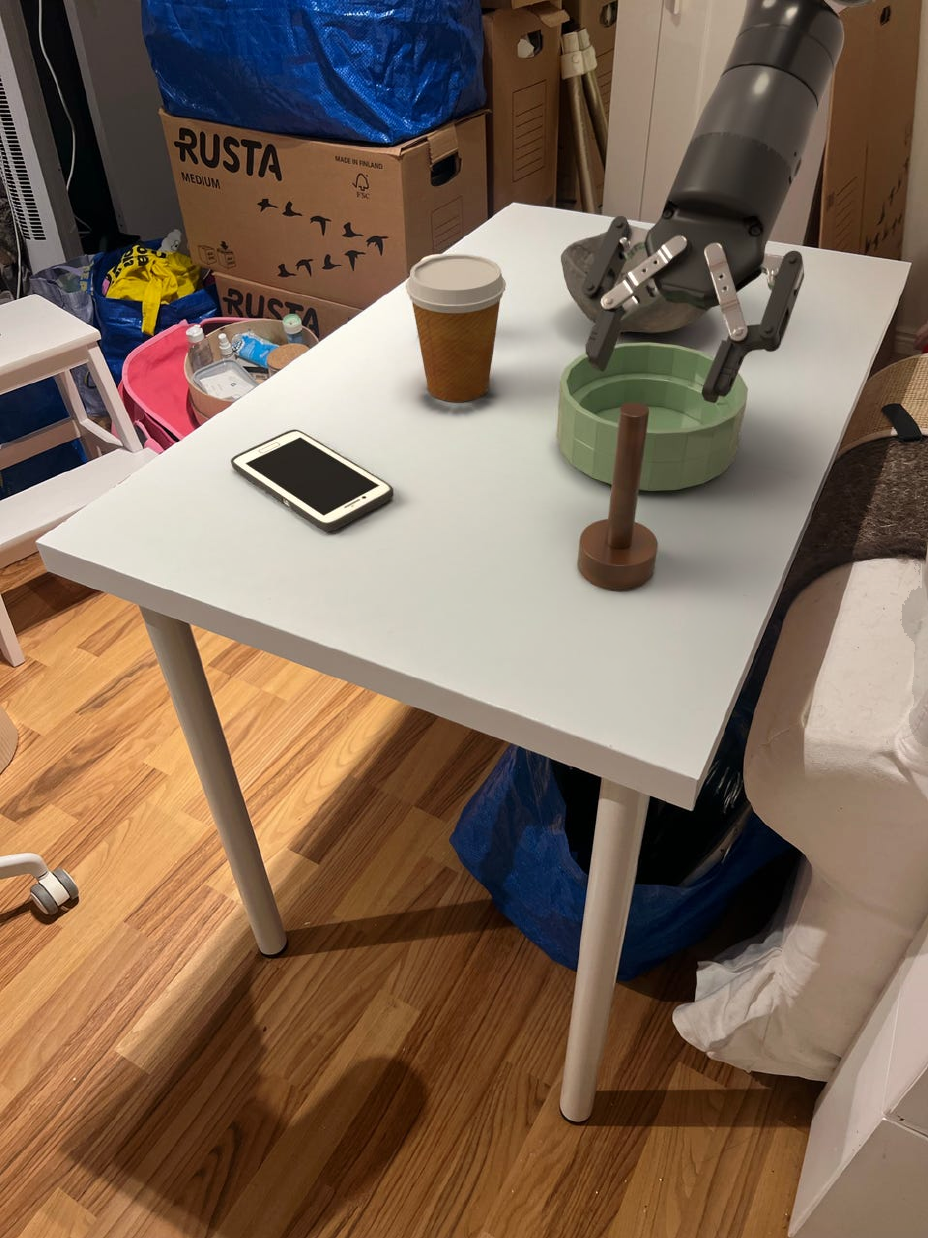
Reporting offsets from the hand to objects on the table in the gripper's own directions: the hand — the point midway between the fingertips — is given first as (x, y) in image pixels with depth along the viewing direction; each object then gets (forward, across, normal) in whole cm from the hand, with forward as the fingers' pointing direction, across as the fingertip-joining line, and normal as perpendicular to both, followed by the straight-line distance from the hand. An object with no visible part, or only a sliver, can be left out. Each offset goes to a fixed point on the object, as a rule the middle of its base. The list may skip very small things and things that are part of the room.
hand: (650, 382), depth 64 cm
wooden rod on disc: (+12, 0, +9) cm, 15 cm away
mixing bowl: (0, -5, +21) cm, 22 cm away
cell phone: (+15, -28, +6) cm, 32 cm away
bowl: (-16, -17, +38) cm, 45 cm away
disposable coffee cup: (0, -27, +22) cm, 34 cm away
